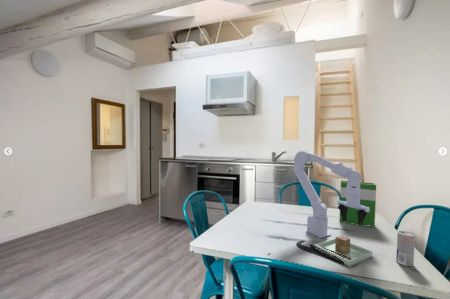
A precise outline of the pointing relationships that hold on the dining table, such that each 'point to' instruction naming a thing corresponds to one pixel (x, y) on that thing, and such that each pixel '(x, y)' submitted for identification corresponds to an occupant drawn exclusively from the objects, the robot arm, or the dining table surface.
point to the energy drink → (405, 248)
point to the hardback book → (361, 203)
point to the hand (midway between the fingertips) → (352, 222)
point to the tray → (355, 253)
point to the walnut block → (342, 245)
